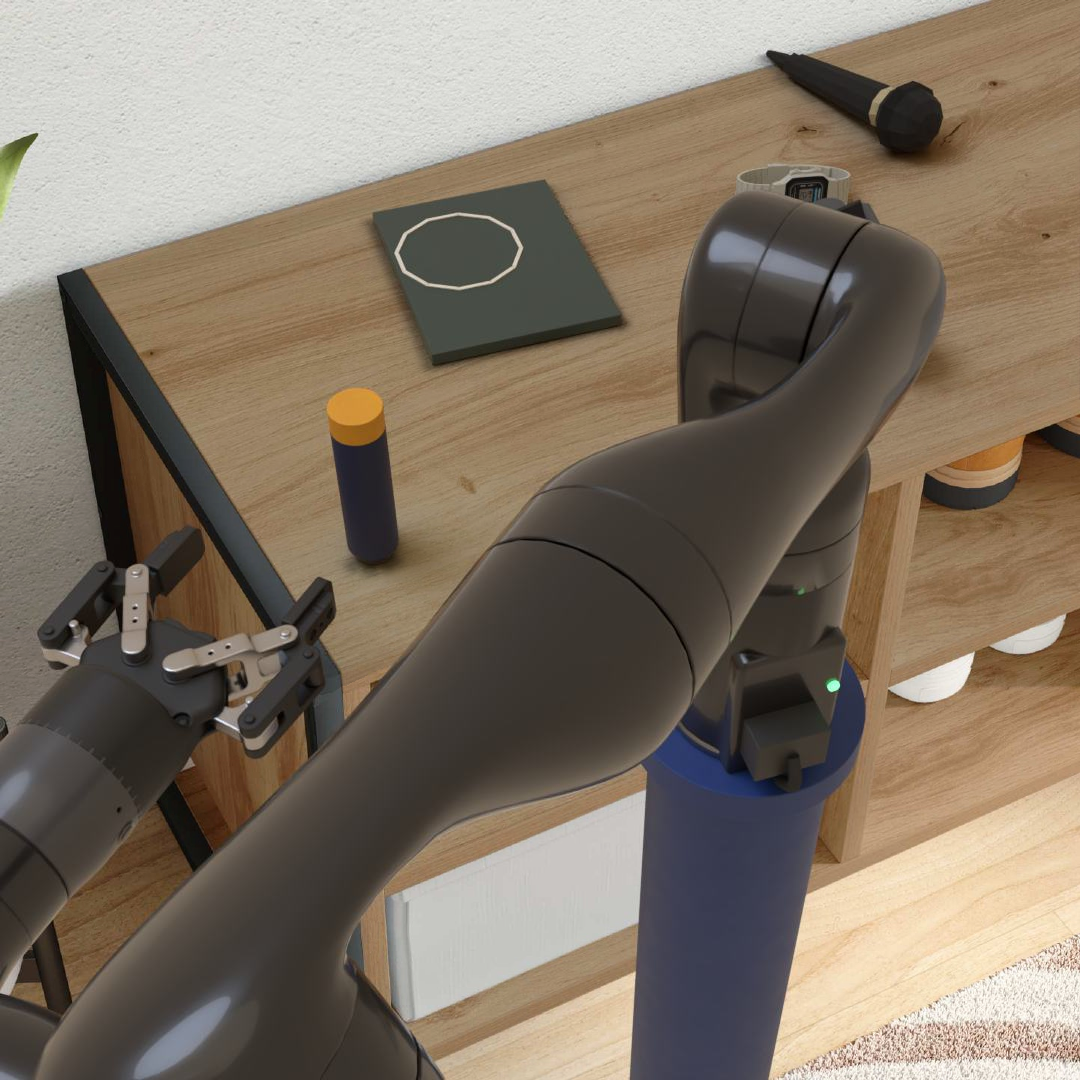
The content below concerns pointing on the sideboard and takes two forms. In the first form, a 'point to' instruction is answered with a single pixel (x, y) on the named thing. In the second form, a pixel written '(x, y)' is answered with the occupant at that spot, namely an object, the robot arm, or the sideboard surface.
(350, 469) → the marker
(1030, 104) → the sideboard surface
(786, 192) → the wristwatch
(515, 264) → the slate
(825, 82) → the microphone
